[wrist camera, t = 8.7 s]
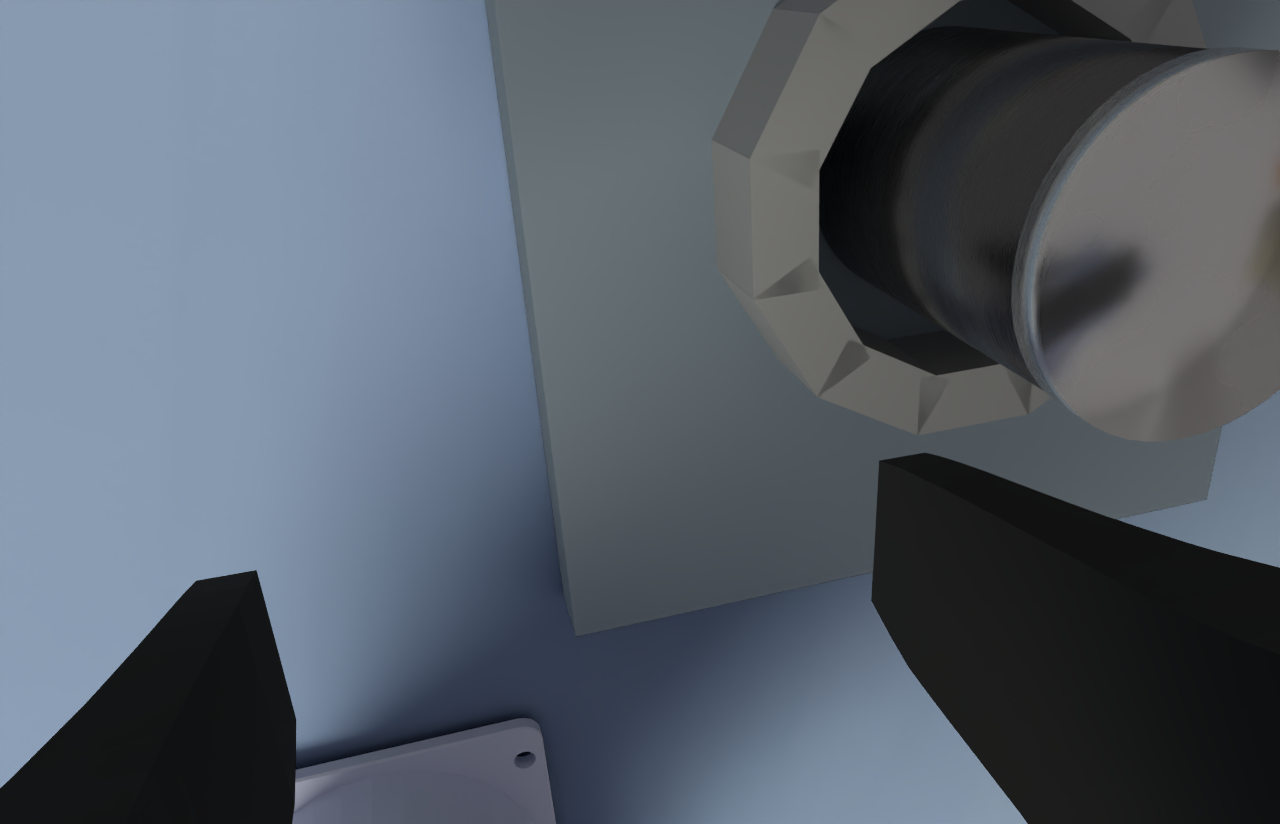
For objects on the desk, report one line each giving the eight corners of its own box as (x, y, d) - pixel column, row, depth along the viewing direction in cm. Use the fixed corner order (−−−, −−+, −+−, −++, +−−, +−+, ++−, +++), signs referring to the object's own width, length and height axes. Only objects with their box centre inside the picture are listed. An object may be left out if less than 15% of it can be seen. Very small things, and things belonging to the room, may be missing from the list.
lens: (1040, 271, 20) (1338, 403, 14) (812, 314, 19) (1024, 475, 13) (1063, 7, 18) (1429, 25, 12) (807, 40, 17) (1059, 80, 11)
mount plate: (1163, 471, 25) (1272, 541, 22) (563, 597, 22) (594, 698, 19) (1320, -392, 18) (1521, -468, 15) (434, -376, 15) (451, -468, 12)
